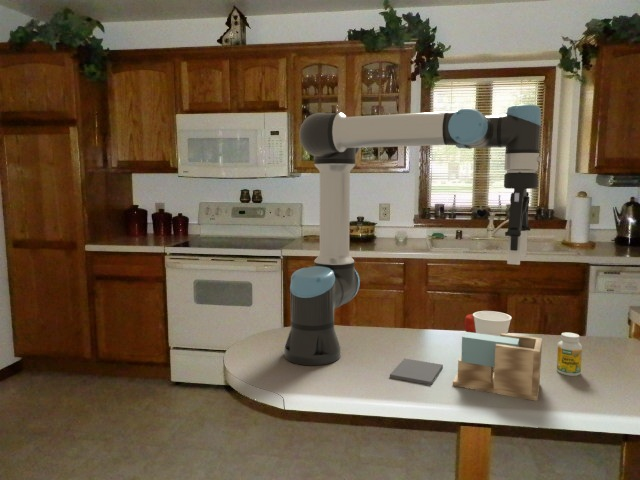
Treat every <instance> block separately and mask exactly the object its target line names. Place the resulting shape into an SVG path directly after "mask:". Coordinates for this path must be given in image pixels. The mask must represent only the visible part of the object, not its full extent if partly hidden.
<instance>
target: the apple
mask: <svg viewBox="0 0 640 480" xmlns="http://www.w3.org/2000/svg"><path fill="white" fill-rule="evenodd" d="M473 314H474V313H470V314H467V315H466V316H465V317H464V327H465V332H472V333H476V329H475V322H474V316H473Z"/></svg>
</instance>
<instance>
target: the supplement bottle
mask: <svg viewBox="0 0 640 480" xmlns="http://www.w3.org/2000/svg"><path fill="white" fill-rule="evenodd" d="M580 337H581V336H580V335H579V334H578V333H574V332H562V333H561V336H560V339H561V340H560V341H558V343H557V353H556V354H557V356H556V357H557V358H556V371H557V372H558V373H559V374H561V375H565V376H569V377H575V376H580V374H581V373H582V357H583V346H582V344H581V343H580Z"/></svg>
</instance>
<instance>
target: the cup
mask: <svg viewBox="0 0 640 480" xmlns="http://www.w3.org/2000/svg"><path fill="white" fill-rule="evenodd" d="M472 314H473V316H474V322H475V329H476V333H479V334H487V335H494V336H500V334H501V333H505V334H509V333H508V332H509V328H510V323H511V321H512V316H511V315H510V314H507V313H504V312H501V311H493V310H481V311H475V312H473V313H472Z"/></svg>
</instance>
